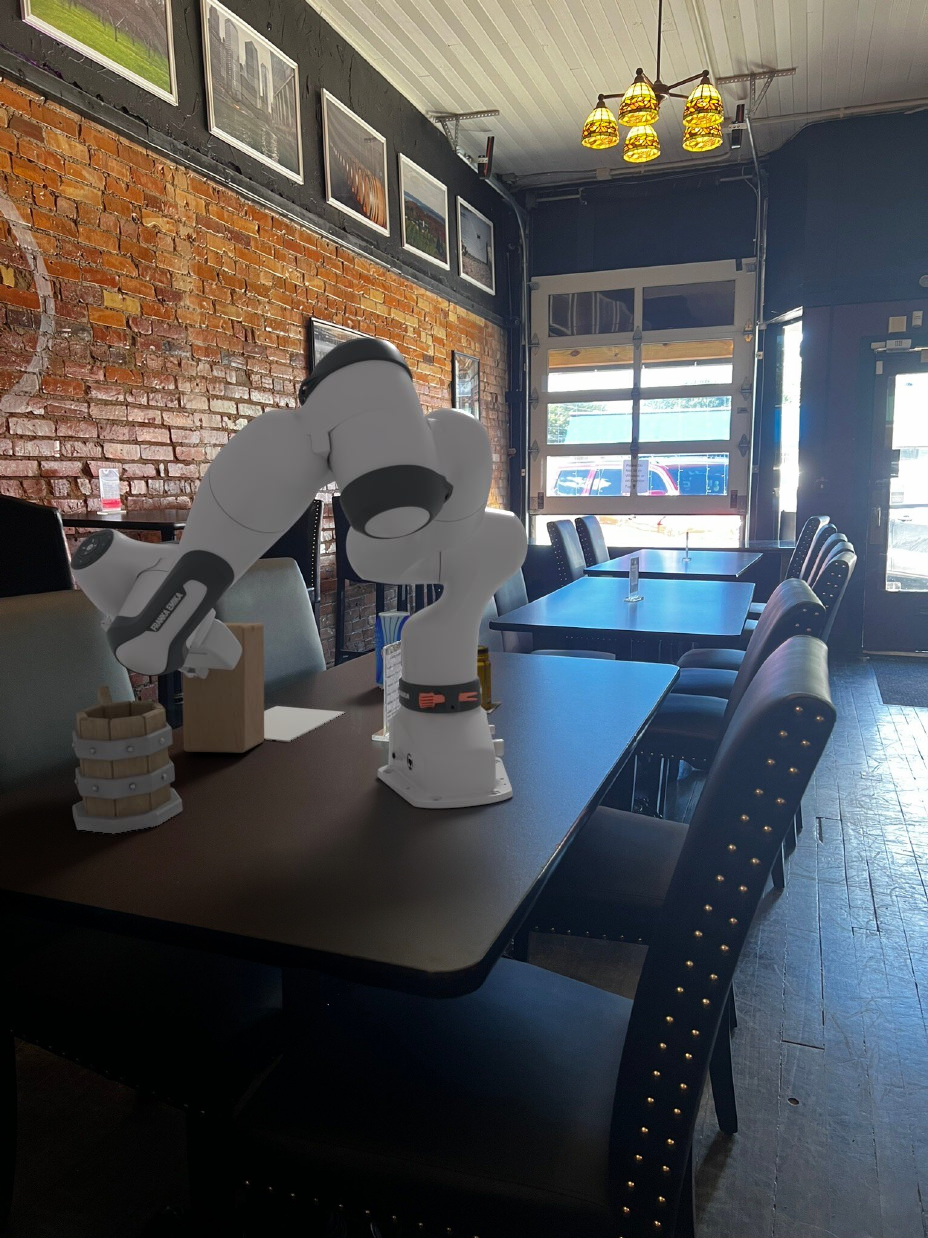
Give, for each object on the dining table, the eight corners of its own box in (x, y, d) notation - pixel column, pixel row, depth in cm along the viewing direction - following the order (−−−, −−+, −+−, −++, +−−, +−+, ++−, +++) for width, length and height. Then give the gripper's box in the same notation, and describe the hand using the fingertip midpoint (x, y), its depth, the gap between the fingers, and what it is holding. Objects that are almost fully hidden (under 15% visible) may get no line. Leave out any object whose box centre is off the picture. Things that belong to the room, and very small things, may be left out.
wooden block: (265, 741, 143) (264, 622, 142) (244, 753, 133) (242, 625, 132) (207, 740, 144) (206, 622, 143) (182, 752, 134) (181, 625, 133)
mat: (288, 742, 142) (288, 740, 142) (213, 734, 148) (213, 733, 148) (345, 713, 161) (344, 711, 161) (276, 707, 166) (276, 706, 166)
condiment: (453, 711, 162) (452, 649, 160) (466, 701, 170) (465, 642, 168) (489, 714, 160) (489, 651, 158) (501, 703, 168) (501, 643, 166)
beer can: (410, 692, 178) (409, 616, 176) (371, 691, 179) (369, 616, 177) (419, 683, 186) (417, 611, 184) (381, 682, 188) (379, 610, 185)
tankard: (188, 821, 108) (182, 705, 106) (80, 841, 102) (70, 719, 100) (159, 777, 125) (153, 677, 123) (65, 793, 119) (56, 688, 117)
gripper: (84, 635, 124) (135, 687, 134) (203, 642, 117) (247, 696, 127) (105, 601, 127) (153, 654, 138) (221, 606, 120) (262, 661, 131)
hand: (199, 674), depth 132 cm, fingers closed
